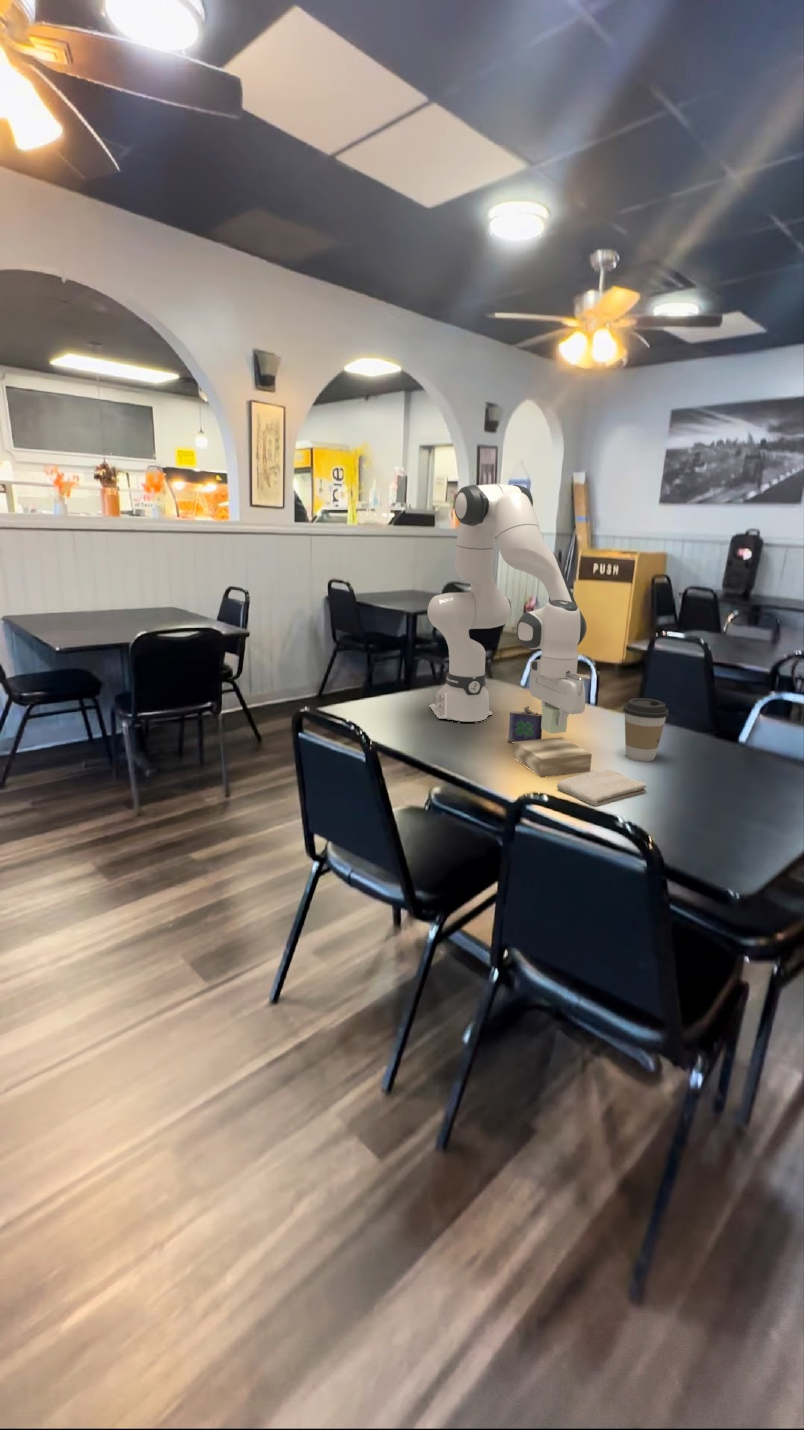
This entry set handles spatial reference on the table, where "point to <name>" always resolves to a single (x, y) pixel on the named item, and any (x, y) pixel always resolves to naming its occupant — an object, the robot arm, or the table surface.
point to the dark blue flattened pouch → (524, 725)
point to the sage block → (551, 720)
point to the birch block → (552, 756)
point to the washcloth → (601, 787)
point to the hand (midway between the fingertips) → (554, 722)
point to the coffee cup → (643, 727)
